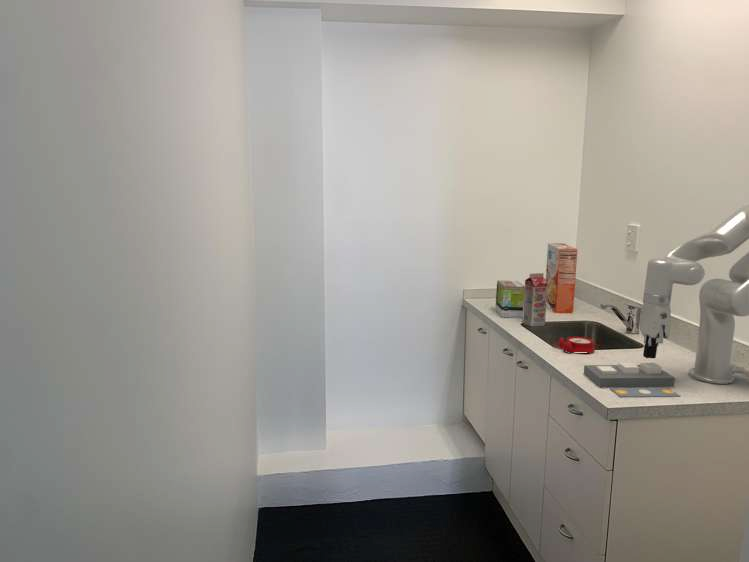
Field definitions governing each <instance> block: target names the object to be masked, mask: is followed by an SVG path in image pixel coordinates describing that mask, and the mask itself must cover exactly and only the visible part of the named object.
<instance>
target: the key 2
mask: <svg viewBox="0 0 749 562" xmlns="http://www.w3.org/2000/svg"><path fill="white" fill-rule="evenodd" d="M639 365H640V370H641V371H643V372H644V373H646V374H661V369H662V367H663V366H661V365H658V364H657V363H655V362H640V364H639ZM662 370H663V369H662Z"/></svg>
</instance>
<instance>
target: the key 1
mask: <svg viewBox="0 0 749 562" xmlns="http://www.w3.org/2000/svg"><path fill="white" fill-rule="evenodd" d="M596 370H597V371H599V372H600V373H601V374H617V371H616V370H615V369H614V368H612V367H611V366H597V368H596Z"/></svg>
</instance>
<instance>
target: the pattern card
mask: <svg viewBox="0 0 749 562" xmlns="http://www.w3.org/2000/svg"><path fill="white" fill-rule="evenodd" d="M609 390H610V391H611V390H612V391H611V392H613V394H616V396H617V397H619V398H681V395H680V394H679V393H677V392H676V391H674V390H672V389H671V387H628V388H609Z"/></svg>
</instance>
